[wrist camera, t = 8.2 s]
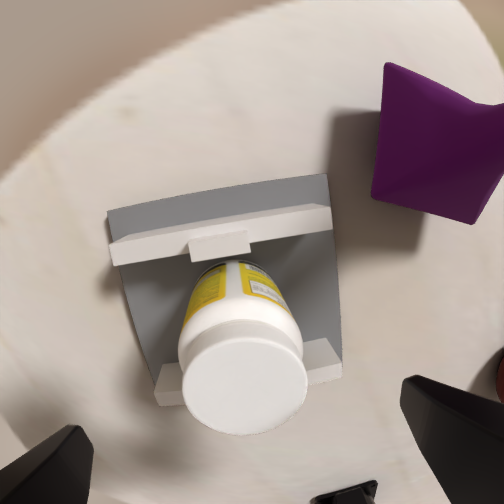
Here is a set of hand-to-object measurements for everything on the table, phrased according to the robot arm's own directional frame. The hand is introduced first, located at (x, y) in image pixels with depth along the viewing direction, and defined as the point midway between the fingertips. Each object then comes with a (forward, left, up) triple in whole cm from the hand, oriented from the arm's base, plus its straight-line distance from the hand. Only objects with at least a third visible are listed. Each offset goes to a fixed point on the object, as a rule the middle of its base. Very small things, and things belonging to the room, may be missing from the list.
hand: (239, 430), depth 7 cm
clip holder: (0, 0, -11) cm, 11 cm away
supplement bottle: (0, 0, -11) cm, 11 cm away
